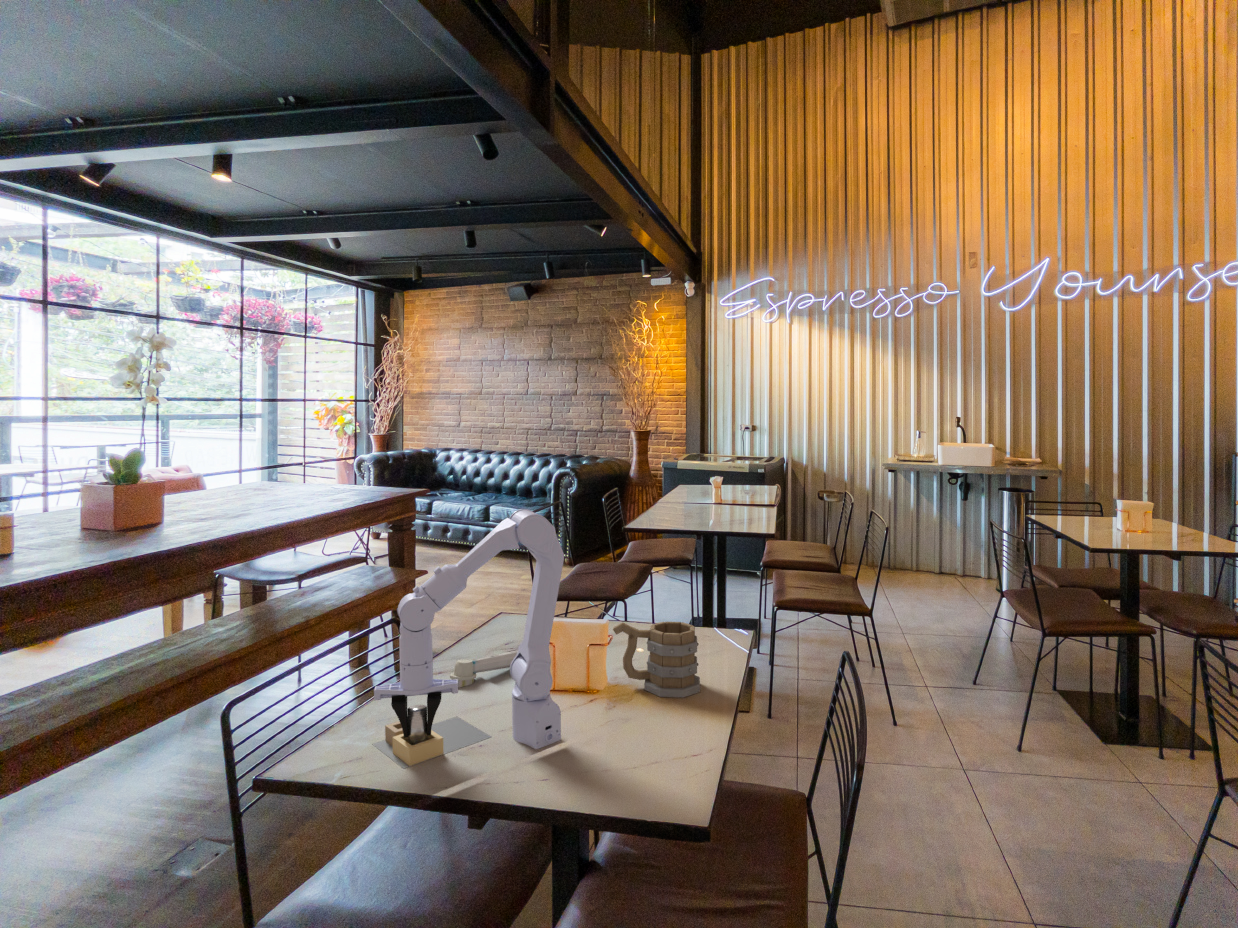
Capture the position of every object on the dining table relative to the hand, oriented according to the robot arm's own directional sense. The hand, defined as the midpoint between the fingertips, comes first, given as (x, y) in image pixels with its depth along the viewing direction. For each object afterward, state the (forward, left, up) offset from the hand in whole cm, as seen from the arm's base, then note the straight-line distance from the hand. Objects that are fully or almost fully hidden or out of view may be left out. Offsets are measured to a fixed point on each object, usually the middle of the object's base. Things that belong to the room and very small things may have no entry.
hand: (417, 733), depth 127 cm
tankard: (-6, -56, -5) cm, 57 cm away
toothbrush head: (+26, -34, -5) cm, 43 cm away
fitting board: (+3, -4, -4) cm, 7 cm away
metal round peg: (0, 0, -2) cm, 2 cm away
